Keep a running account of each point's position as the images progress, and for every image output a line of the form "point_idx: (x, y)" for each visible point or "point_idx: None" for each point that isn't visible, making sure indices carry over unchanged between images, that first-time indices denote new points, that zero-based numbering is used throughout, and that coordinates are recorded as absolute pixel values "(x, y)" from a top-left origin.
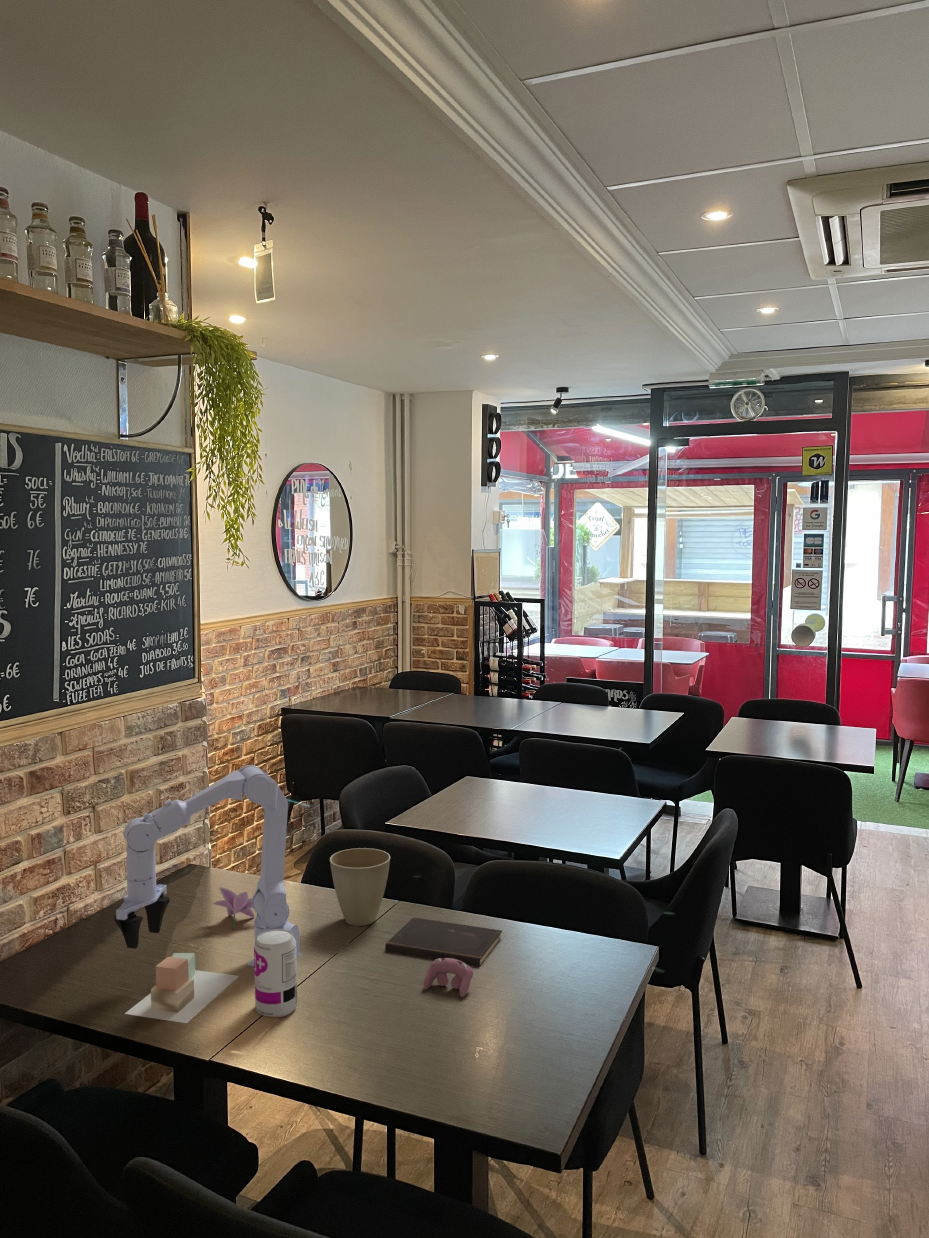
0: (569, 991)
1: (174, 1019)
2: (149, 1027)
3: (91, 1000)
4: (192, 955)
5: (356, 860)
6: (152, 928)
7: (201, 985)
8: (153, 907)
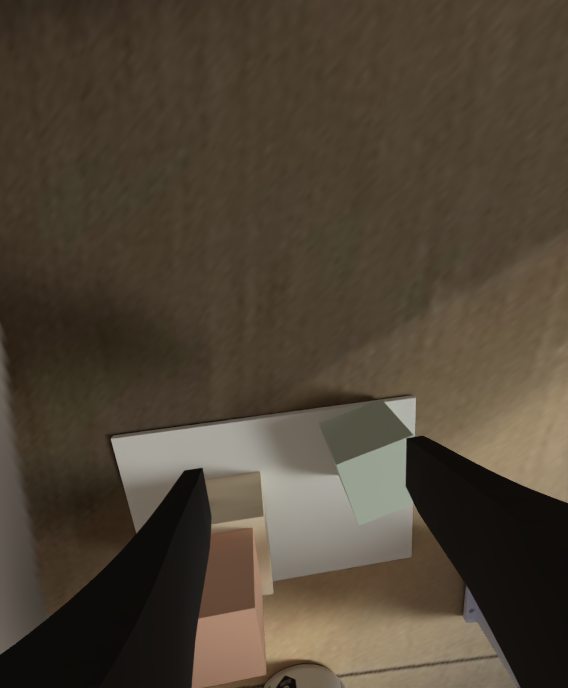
0: None
1: None
2: (100, 533)
3: (133, 263)
4: (411, 503)
5: None
6: (419, 472)
7: (336, 511)
8: (537, 631)
